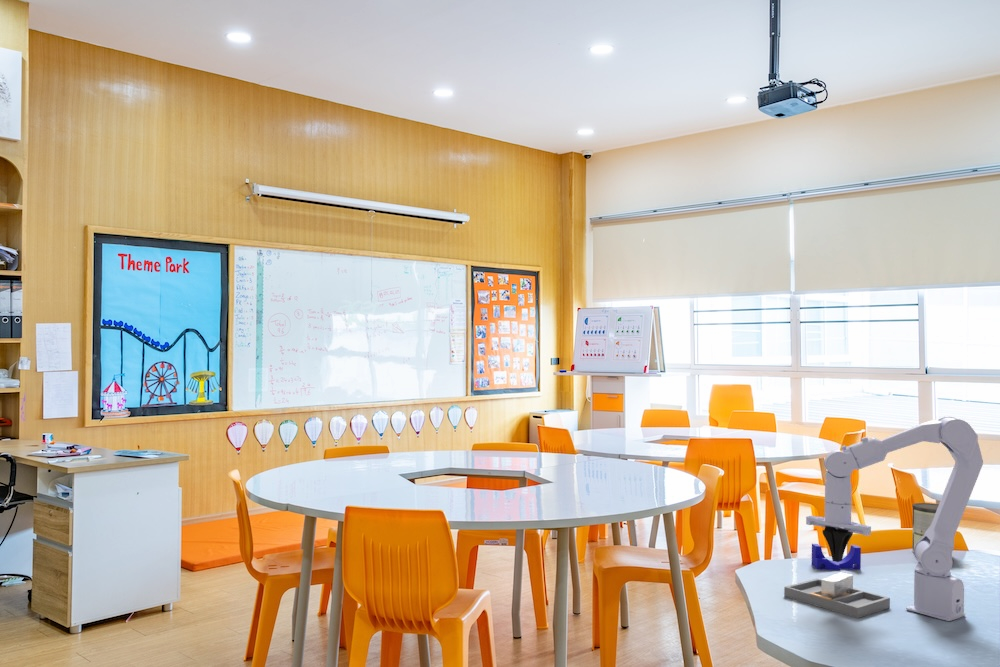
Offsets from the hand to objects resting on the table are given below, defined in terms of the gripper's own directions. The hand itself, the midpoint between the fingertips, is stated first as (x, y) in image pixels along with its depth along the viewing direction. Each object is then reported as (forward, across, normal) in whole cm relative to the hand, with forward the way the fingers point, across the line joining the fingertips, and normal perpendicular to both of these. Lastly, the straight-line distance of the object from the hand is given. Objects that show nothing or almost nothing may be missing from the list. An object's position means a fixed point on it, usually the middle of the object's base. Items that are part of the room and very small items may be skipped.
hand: (837, 560), depth 184 cm
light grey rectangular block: (+8, 0, 0) cm, 8 cm away
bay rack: (+9, 0, 0) cm, 9 cm away
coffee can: (+10, +4, -69) cm, 70 cm away
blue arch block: (+10, +14, -30) cm, 34 cm away
